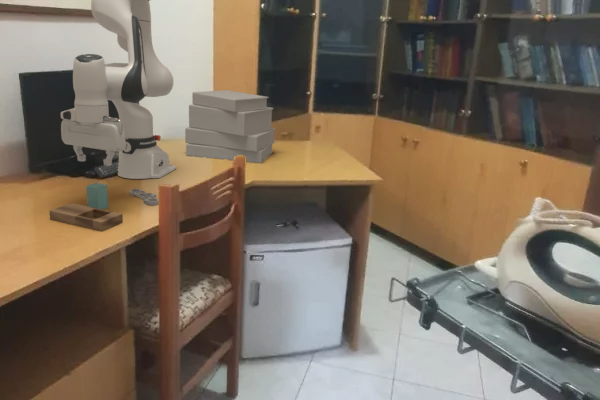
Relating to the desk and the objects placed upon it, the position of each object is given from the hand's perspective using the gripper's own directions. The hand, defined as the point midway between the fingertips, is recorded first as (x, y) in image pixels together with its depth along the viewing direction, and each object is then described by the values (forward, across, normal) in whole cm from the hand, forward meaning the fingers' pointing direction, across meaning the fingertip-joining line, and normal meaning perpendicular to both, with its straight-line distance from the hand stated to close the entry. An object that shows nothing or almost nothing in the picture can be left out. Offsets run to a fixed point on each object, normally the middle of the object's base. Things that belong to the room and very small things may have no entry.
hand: (94, 163), depth 155 cm
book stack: (+12, +3, -85) cm, 86 cm away
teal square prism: (+14, 0, -1) cm, 14 cm away
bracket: (+14, -5, -15) cm, 21 cm away
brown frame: (+14, -5, +9) cm, 17 cm away
